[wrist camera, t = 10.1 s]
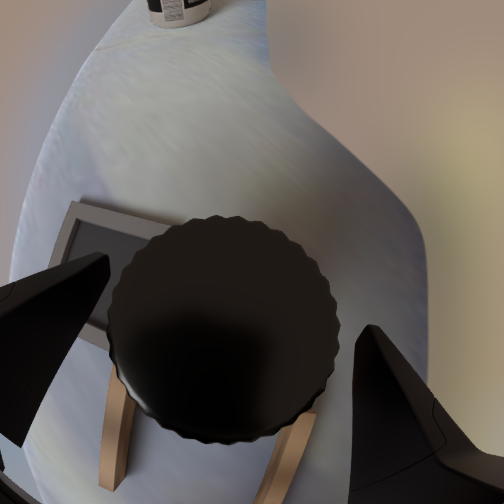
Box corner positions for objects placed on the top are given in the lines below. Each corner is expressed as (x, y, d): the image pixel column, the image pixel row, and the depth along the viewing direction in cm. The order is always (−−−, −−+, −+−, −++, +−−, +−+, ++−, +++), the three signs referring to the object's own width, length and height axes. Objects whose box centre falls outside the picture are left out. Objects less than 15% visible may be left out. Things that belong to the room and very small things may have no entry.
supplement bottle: (177, 374, 16) (75, 456, 4) (178, 268, 17) (81, 175, 6) (287, 375, 16) (374, 465, 4) (286, 268, 18) (367, 172, 6)
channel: (263, 514, 14) (266, 532, 11) (111, 472, 14) (98, 485, 11) (307, 402, 16) (316, 414, 14) (129, 354, 16) (114, 358, 14)
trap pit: (139, 361, 16) (135, 362, 16) (42, 314, 17) (36, 314, 16) (177, 230, 19) (174, 226, 18) (76, 204, 19) (71, 200, 18)
